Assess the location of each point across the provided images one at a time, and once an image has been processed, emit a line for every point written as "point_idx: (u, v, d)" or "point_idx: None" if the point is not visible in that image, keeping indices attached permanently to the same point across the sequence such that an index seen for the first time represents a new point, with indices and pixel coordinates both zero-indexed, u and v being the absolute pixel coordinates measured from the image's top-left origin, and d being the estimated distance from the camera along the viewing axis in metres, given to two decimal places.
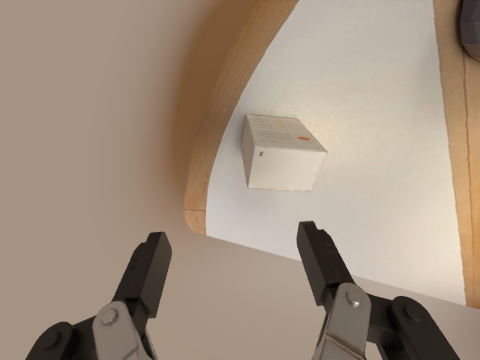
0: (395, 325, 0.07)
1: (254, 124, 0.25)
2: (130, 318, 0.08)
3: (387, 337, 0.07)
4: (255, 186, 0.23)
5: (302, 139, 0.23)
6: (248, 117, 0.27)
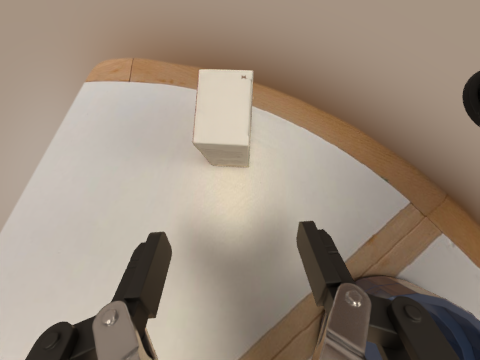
0: (395, 324, 0.07)
1: None
2: (130, 318, 0.08)
3: (387, 337, 0.07)
4: (201, 76, 0.20)
5: None
6: None
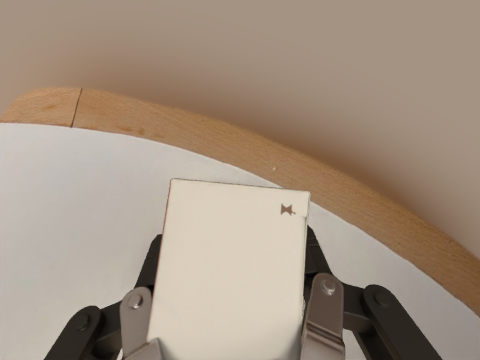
0: (366, 311, 0.08)
1: None
2: None
3: (359, 323, 0.08)
4: (176, 201, 0.07)
5: None
6: None
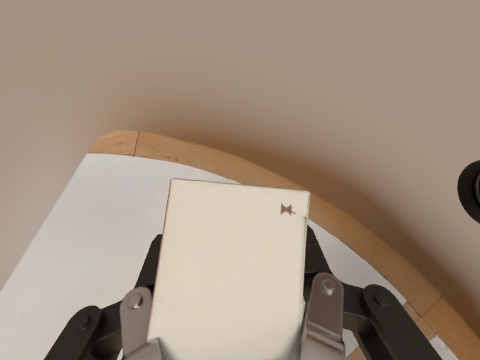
0: (366, 311, 0.08)
1: None
2: None
3: (359, 323, 0.08)
4: (176, 200, 0.07)
5: None
6: None
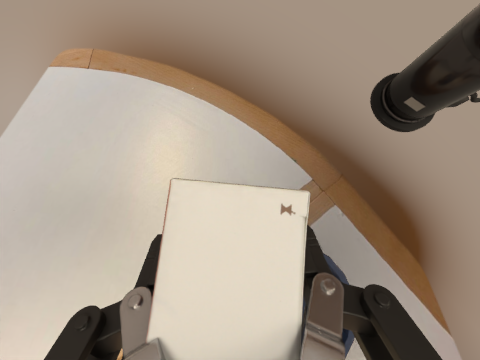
0: (366, 311, 0.08)
1: None
2: None
3: (359, 323, 0.08)
4: (176, 201, 0.07)
5: None
6: None
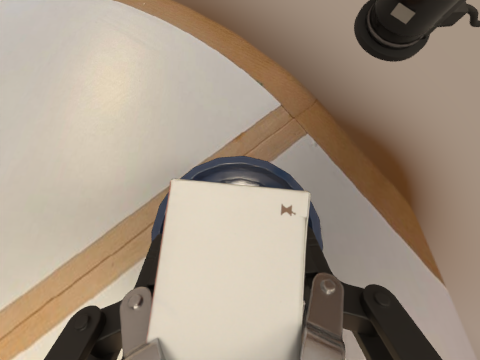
0: (366, 311, 0.08)
1: None
2: None
3: (359, 323, 0.08)
4: (176, 201, 0.07)
5: None
6: None
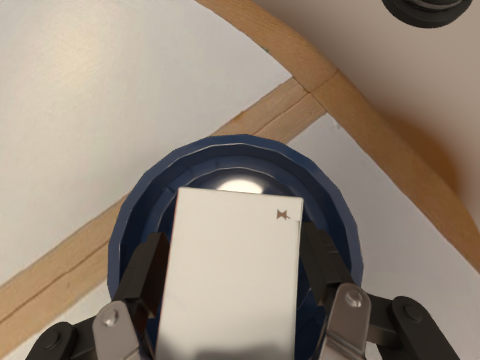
0: (395, 325, 0.07)
1: None
2: (130, 318, 0.08)
3: (387, 337, 0.07)
4: (183, 207, 0.08)
5: None
6: None
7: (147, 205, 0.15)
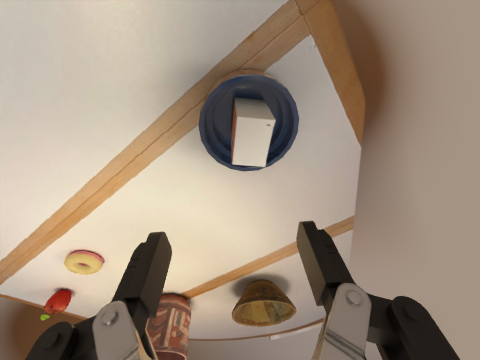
0: (395, 325, 0.07)
1: None
2: (130, 318, 0.08)
3: (387, 337, 0.07)
4: (238, 123, 0.27)
5: None
6: (265, 103, 0.34)
7: None
